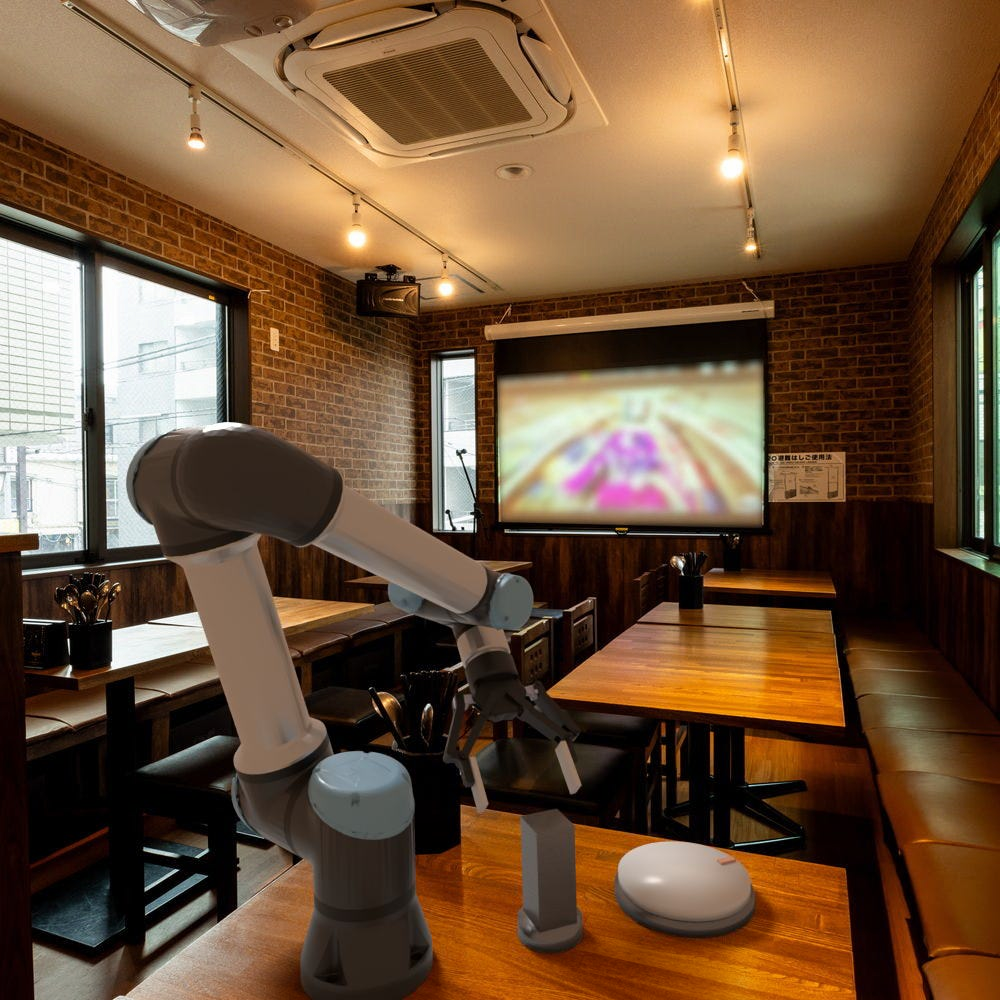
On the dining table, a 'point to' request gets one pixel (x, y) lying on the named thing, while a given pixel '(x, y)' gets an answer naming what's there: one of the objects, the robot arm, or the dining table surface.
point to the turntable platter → (684, 881)
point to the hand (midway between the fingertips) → (530, 799)
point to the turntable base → (686, 927)
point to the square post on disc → (549, 884)
